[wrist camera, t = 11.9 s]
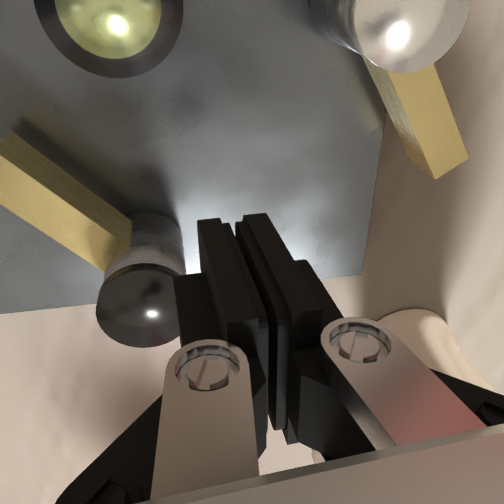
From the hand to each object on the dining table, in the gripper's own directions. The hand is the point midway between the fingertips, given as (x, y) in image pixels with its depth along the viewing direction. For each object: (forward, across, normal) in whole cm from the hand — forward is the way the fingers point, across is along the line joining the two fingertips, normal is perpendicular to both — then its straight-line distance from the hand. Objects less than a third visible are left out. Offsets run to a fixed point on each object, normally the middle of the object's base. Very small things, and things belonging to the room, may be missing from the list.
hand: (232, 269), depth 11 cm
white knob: (+8, -7, -4) cm, 11 cm away
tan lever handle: (+8, +4, +2) cm, 9 cm away
